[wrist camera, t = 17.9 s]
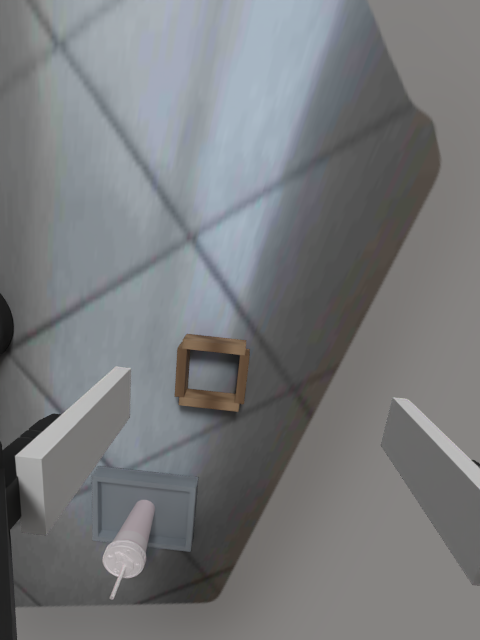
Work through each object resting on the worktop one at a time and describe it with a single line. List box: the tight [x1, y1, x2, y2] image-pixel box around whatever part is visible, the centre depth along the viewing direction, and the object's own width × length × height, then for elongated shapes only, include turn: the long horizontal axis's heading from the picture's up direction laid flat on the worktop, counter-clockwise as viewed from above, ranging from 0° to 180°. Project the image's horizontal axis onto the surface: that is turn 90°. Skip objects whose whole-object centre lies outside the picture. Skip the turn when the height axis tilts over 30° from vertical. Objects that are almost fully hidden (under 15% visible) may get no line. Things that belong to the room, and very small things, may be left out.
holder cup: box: [175, 334, 250, 412], centre depth 47 cm, size 11×11×3 cm
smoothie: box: [103, 500, 155, 599], centre depth 48 cm, size 6×6×14 cm
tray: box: [92, 466, 198, 552], centre depth 54 cm, size 18×14×2 cm
